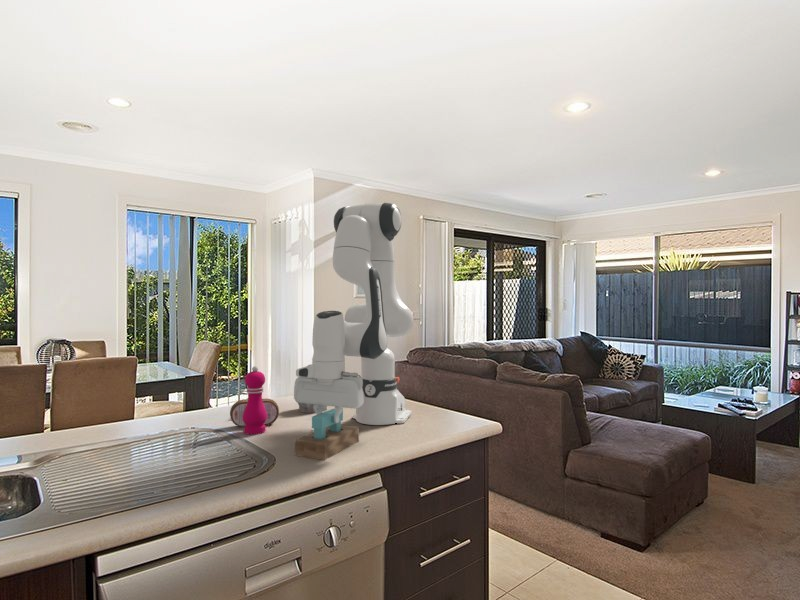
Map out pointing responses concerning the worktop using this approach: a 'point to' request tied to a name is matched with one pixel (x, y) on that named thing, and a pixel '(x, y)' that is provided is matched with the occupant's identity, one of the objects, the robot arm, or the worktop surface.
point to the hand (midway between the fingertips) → (328, 421)
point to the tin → (240, 406)
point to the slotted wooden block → (326, 443)
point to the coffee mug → (309, 408)
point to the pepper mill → (254, 403)
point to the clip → (325, 423)
